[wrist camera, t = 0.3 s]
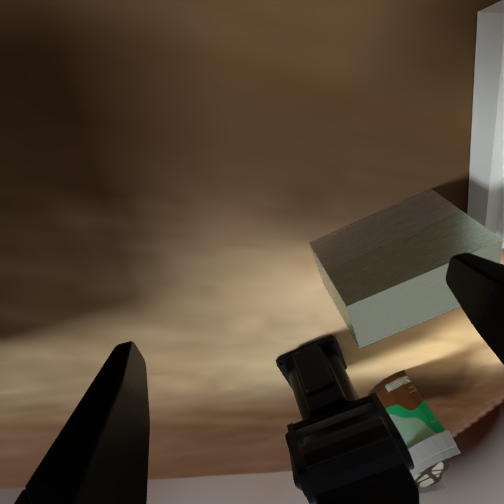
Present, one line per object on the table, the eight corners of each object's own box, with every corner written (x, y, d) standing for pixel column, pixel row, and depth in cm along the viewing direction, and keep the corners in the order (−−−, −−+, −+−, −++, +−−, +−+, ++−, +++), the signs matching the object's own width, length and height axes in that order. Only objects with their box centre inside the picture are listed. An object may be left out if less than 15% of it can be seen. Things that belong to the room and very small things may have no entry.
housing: (432, 235, 29) (495, 292, 23) (323, 283, 29) (359, 348, 24) (430, 187, 25) (502, 240, 20) (308, 242, 26) (346, 306, 21)
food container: (355, 379, 40) (401, 471, 33) (404, 363, 40) (461, 451, 33) (359, 423, 48) (397, 505, 40) (399, 409, 48) (445, 489, 40)
